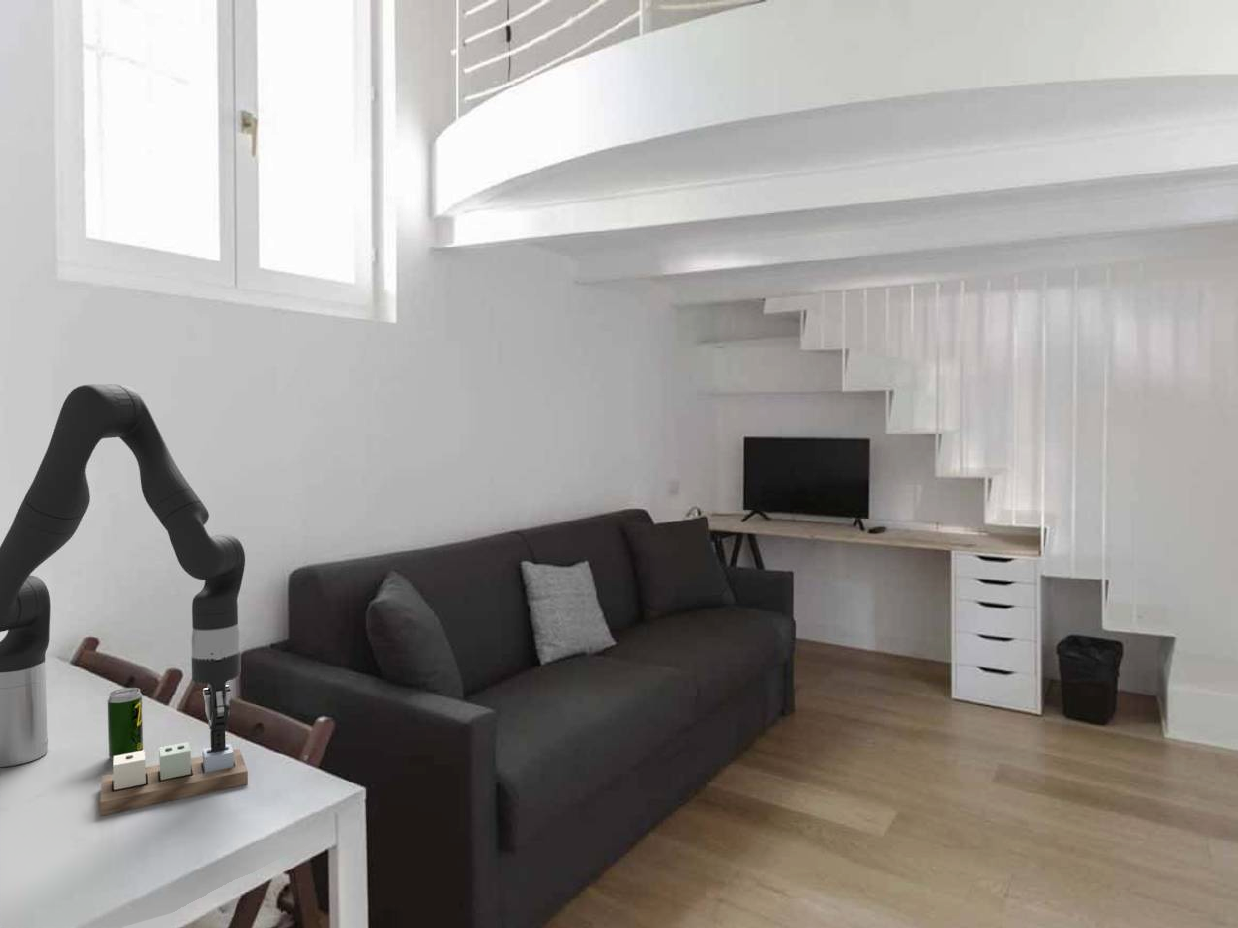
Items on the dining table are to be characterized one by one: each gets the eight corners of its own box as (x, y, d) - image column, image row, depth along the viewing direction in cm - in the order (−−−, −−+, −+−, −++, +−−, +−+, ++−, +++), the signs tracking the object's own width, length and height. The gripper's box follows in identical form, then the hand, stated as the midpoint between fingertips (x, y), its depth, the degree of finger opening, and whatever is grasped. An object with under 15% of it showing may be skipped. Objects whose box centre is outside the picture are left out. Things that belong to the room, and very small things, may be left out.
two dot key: (160, 780, 129) (160, 755, 129) (159, 770, 132) (159, 746, 132) (190, 773, 131) (190, 749, 131) (189, 764, 135) (188, 740, 135)
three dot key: (205, 780, 132) (204, 756, 132) (202, 771, 136) (202, 747, 136) (233, 774, 135) (233, 750, 135) (230, 765, 138) (230, 742, 138)
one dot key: (114, 789, 125) (113, 764, 125) (114, 779, 129) (113, 754, 129) (145, 783, 128) (145, 758, 127) (145, 773, 131) (144, 748, 131)
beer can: (109, 764, 140) (107, 699, 140) (108, 754, 145) (107, 690, 144) (143, 757, 143) (142, 693, 143) (142, 747, 148) (141, 685, 147)
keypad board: (100, 815, 122) (100, 802, 122) (102, 788, 131) (101, 775, 131) (247, 783, 133) (247, 770, 133) (239, 760, 142) (239, 748, 142)
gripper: (188, 645, 138) (190, 741, 139) (194, 664, 127) (196, 768, 128) (235, 639, 142) (237, 732, 143) (244, 657, 131) (246, 758, 132)
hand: (218, 749), depth 135 cm, fingers closed
